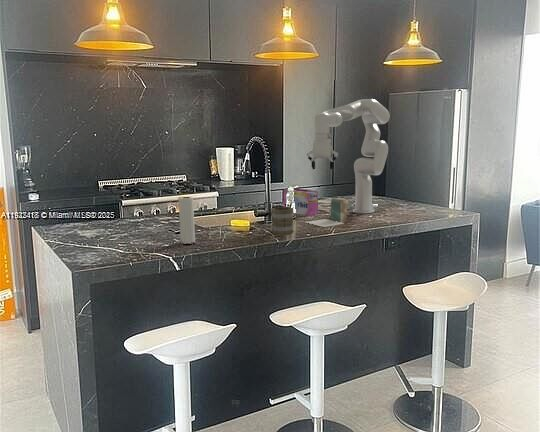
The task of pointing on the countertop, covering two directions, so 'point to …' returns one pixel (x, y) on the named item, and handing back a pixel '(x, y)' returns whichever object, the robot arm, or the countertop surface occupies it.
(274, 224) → the mug
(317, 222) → the mat
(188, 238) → the paper towel roll
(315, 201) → the gum box
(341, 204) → the sponge
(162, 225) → the countertop surface
